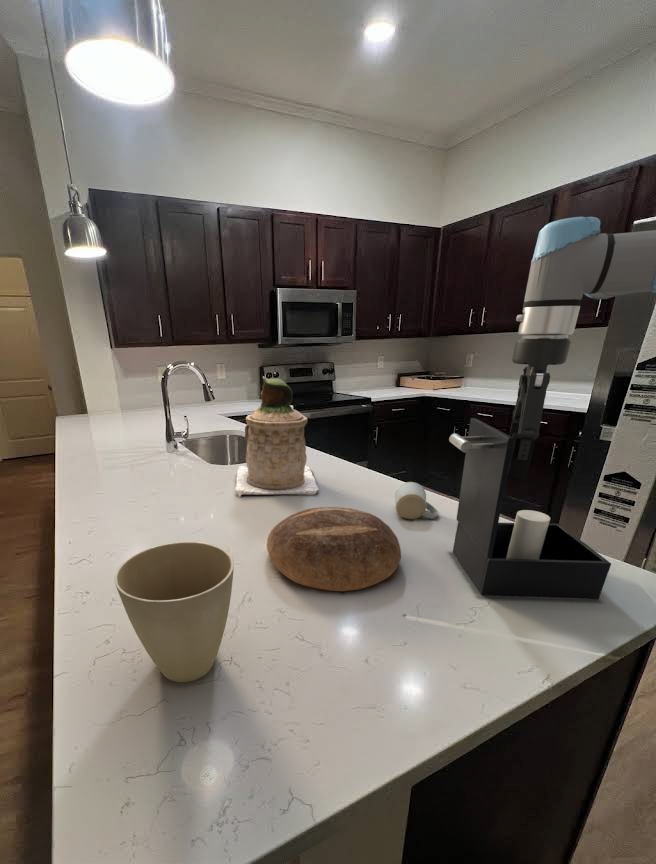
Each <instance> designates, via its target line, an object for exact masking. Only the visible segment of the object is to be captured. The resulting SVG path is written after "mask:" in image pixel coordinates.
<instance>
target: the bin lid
mask: <svg viewBox="0 0 656 864" xmlns="http://www.w3.org/2000/svg"><path fill="white" fill-rule="evenodd" d="M448 442H449V443H451V444H452V445H453V446H454V447H456V448H457V449H458V450H460V451H461V452H462V453H465V456H464V463H463V469H462V477H461V485H460V491H459V499H458V505H457V512H456V513H457V514H456V521H457V523H458V522H459V523H460V525H461V526H462V527H463V528H464V530H465V531H466V532H467V533H468V535H469V536H470V537H471V538H472V540H473V541H474V542H475V543H476V545H477V546H478V547H479V548H480V550H481V551H482V552H483V553H484V555H485V556H486V557H487V558H492V554H493V549H494V544H495V538H496V533H497V528H498V523H500V522H499V521H500V517H501V511H502V506H503V500H504V496H505V495H504V494H505V489H506V486H507V485H506V484H507V479H508V477H507V475H508V470H509V466H510V461H511V452H512V447H513V442H514V438H513V437H511V436H509V434H507V433H505V432H503V431H501V430H499V429H497V428H495V427H493V426H491V425H489V424H488V423H486V422H483V421H482V420H480V419H478V418H476V417H471V418H470V420H469V428H468V434H467V436H461V435H460V434H458V433H452V434H451V435H450V436H449V438H448Z"/></svg>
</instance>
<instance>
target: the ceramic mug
mask: <svg viewBox="0 0 656 864" xmlns="http://www.w3.org/2000/svg"><path fill="white" fill-rule="evenodd" d="M394 502H395V510H396V512H397V514H398V515H399V516H400V517H401V518H403V519H406V520H414V519H415V520H417V519H419V518H421V517H422V516H423V517H425V518H427V519H429V520H434V519H436V518H437V517H438V515H439V511H438V509H437V508H436V507H435V506H434V505H433V504H431V503H429V501H427V494H426V490H425V488H424V487H423V486H422V485H421V484H419V483H418V482H415V481H414V482H413V481H406V482H403V483H401V484H400V485H399V486H398V487H397V489H396V490H395V493H394Z"/></svg>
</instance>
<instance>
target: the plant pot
mask: <svg viewBox="0 0 656 864" xmlns="http://www.w3.org/2000/svg"><path fill="white" fill-rule="evenodd" d="M234 568H235V561H234V558H233V556H232V555H231V554H230V553H229V552H228V551H227V550H226V549H224V548H222V547H220V546H218V545H215V544H213V543H208V542H202V541H178V542H177V541H175V542H169V543H164V544H159V545H156V546H152V547H149V548H146V549H144V550H142V551H139V552H138V553H136V554H135V553H134V555H132V556H130V557H129V558H127V559H126V560H125V561H124V562H123V563H121V565H119V567H118V569H117V570H116V572H115V574H114V584H115V588H116V590H117V592H118V595H119V598H120V600H121V603H122V605H123V608H124V610H125V613H126V615H127V617H128V620H129V623H130V624H131V626H132V628H133V630H134V632H135V634H136V636H137V637H138V639H139V641H140V643H141V645H142V646H143V648H144V649H145V651H146V653H147V654H148V656H149V658H150V659H151V661H152V662H153V663H154V664H155V666H156V667H157V669H158V670H159V671H160V672H161V674H162V675H163V676H164V677H165V678H166V679H168V680H169V681H172V682H176V683H190V682H194V681H196V680H199V679H201V678H203V677H204V676H206V675H207V674H208V673H209V672H210V671H211V669H212V668H213V666H214V663H215V661H216V659H217V655H218V653H219V650H220V648H221V644H222V640H223V637H224V633H225V630H226V627H227V626H226V625H227V621H228V615H229V610H230V605H231V597H232V591H233V579H234Z"/></svg>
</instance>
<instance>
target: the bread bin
mask: <svg viewBox="0 0 656 864" xmlns="http://www.w3.org/2000/svg"><path fill="white" fill-rule="evenodd" d="M514 523H515V522H498V528H497V533H496V538H495V544H494V549H493V554H492V558H487V557H486V556H485V555H484V553H483V552H482V551H481V550H480V548H479V547H478V546H477V545H476V543H475V542H474V541H473V540H472V538H471V537H470V536H469V535H468V533H467V532H466V531H465V530H464V528H463V527H462V526H461V525H460V523H459V522H458V521H457V525H456V531H455V536H454V542H453V547H452V555H454V557H455V558H456V560H457V561H458V563H459V565H460V566H461V568H462V569H463V571H464V572H465V573H466V575H467V576H468V578H469V579H470V581H471V582H472V584H473V585H474V587H475V589H476V590H477V591H478V593H479V595H480V596H486V597H487V596H491V597H517V598H518V597H519V598H546V599H547V598H549V599H553V598H554V599H580V600H581V599H583V600H584V599H585V600H599V599H600V596H601V594H602V591H603V589H604V585H605V583H606V580H607V577H608V574H609V571H610V568H611V566H612V563H611V562H610V561H609V560H607V559H606V558H605V557H603V555H601V554H600V553H598V552H597V551H596V550H594V549H593V548H592V547H591V546H589V545H588V544H587V543H585V542H584V541H583V540H581V539H580V538H579V537H577V536H576V535H575V534H574V533H572V532H571V531H569V529H567V528H565V527H564V526H562V525H561V524H560V523H549V526H548V530H547V533H546V537H545V540H544V544H543V548H542V551H541V555H540V558H539V560H536V559H506V556H507V552H508V548H509V544H510V539H511V535H512V531H513V527H514Z"/></svg>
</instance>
